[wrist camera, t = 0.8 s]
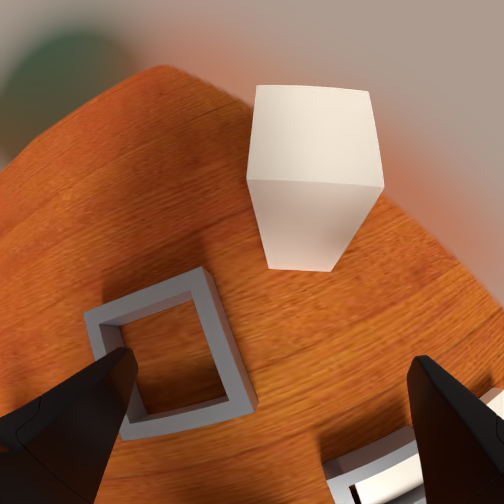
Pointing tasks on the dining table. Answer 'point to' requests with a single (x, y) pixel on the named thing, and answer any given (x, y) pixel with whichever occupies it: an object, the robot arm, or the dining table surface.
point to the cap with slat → (388, 466)
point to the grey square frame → (219, 340)
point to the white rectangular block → (311, 172)
